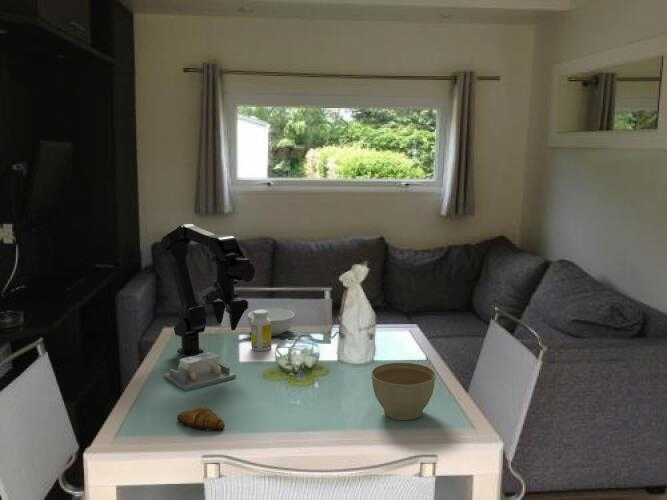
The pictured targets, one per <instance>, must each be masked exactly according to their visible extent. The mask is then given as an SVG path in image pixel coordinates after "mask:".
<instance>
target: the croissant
mask: <svg viewBox="0 0 667 500" xmlns="http://www.w3.org/2000/svg"><path fill="white" fill-rule="evenodd" d="M176 420H177V421H178V423H180V424H182V425H184V426H187V427H190V428H193V429H197V430H206V431H216V432H217V431H223V430H224V429H225V422H224V421H223V420H222V418H221V417H219V416H218V415H217V414H216V413H214V411H213V410H212V408H209V407H207V406H206V407H205V406H198V407H195V408H193V409H191V410H190V409H189V410H185V411H182V412H180V413H178V415H177V416H176Z"/></svg>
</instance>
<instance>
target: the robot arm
mask: <svg viewBox="0 0 667 500" xmlns="http://www.w3.org/2000/svg"><path fill="white" fill-rule="evenodd" d="M192 241H193V242H195V243H196V244H199V245H201V246H204V247H206V248H207V249H208V251H209V252H210V253H211V254H212V255H214V256H213V257H212V258H210V262H213V263H215V279H214V280H213V281H212V285H211V286H208V287H207V288H204V289H203V290H201V291H199V292H197V296H198V299H199V301H200V303H201V304H202V305H200V304H199V303H198V302H197V300H196V299H197V298H196V295H195V291H194V286H193V282H192V279H191V278H192V277H191V276H190V275H191V274H190V271H189V267H188V262H187V257H188V253H189V250H190V249H189V244H190V243H192ZM159 243H160V244H159V245H160V249H161V251H162V254H163V256H164V258H165V259H166V260H167V261H168V262H169V263H170V265H171V268H172V273H173V277H174V281H175V285H176V286H175V287H176V289H177V294H178V298H179V301H180V308H179V312H178V320H179V321H178V322H177V323H176V325H175V327H174V328H173V332H174V335H175V336H178V337H180V340H181V342H180V343H181V348H178V349H177V352H179V353H180V354H183V355H185V356H189V355H194V354H198V353H203V352H204V349H203V348H201V347H200V335H199V333H200V334H201V333H204V332H205V331H206V325H207V322H208V319H207V318H208V316H207V315H208V314H206V309H205V306H209V305H210V306H211V307H212V309H213V312H214V315H215V318H216V322H217V324H222V322H223V320H224V316H225V315H224V314H225V312H226V313H227V314H228V317H229V324H230V330H231V331H235V330H236V328H237V326H238V325H239V322H240V321H241V318H242V316H243V314H244V313H245V312H246V311H247V309H248V310H249V308H250V307H249V300H247V299H245V298H243V297H239V294H238V293H236V285H238V281H240V282H244V283H249V282H250V281H253V279H254V277H255V275H256V269H255V267H254V265H253V264H252V263H251V262H250V259H249V258H245V255H244V252H243V251H242V249H241V247H240V244H239V243H238V241H237V238H236V237H235V236H233V235H227V234H216V233H214V232H211V231H209V230H206V229H203V228H201V227H198V226H196V225H195V224H192V223H186V224H180V225H178V226H177V228H175V229H174V230H172V231H170V232H169V233H167V234H166V235H164V236H163V237H162V238H161V240H160V242H159ZM204 305H205V306H204Z"/></svg>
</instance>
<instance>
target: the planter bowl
mask: <svg viewBox="0 0 667 500" xmlns="http://www.w3.org/2000/svg"><path fill="white" fill-rule="evenodd" d="M370 373H371V379H372V380H371V382H372V389H373V393H374V395H375V397H376V400H377V401H378V403H379V405H380V406H381V407H382V409H383V412H384V414H385V416H387V417H388V418H390V419H393V420H395V421H396V420H398V421H413V420H416V419H418V418H420V417H421V416H422V415H423V410H424V409H425V408H426V406H427V405H428V404H429V403H430V400H431V399H432V395H433V393H434V390H435V382H436V378H437V375H436V374H437V373H436V372H435V370H434V369H432V368H431V367H428V366H427V365H423V364H420V363H414V362H407V361H405V362H398V361H397V362H389V363H388V362H387V363H383V364H380V365H377V366H375V367H374V368H373V369H372V370H371V371H370Z"/></svg>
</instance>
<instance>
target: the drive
mask: <svg viewBox="0 0 667 500" xmlns="http://www.w3.org/2000/svg"><path fill="white" fill-rule="evenodd" d="M219 359H220V358H219V355H218V354H215V353H213V352H210V351H209V352H205V353H201V354H196V355H191V356H188V357H184V358H180V359H179V365H180V374H182V375H184V376H185V377H187V380H191V372H196V378H200V377H203V376H207V375H211V374H215V373H216V367H217V366H219V362H220V360H219Z"/></svg>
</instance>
